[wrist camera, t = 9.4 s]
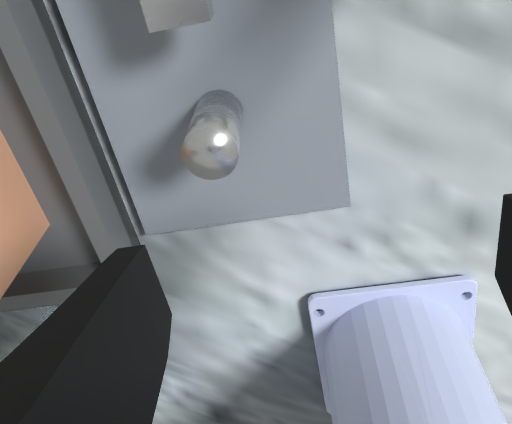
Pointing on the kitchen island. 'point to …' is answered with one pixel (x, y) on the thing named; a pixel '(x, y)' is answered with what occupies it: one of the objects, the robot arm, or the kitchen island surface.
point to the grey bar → (202, 98)
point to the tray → (55, 161)
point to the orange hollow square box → (16, 217)
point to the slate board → (218, 78)
